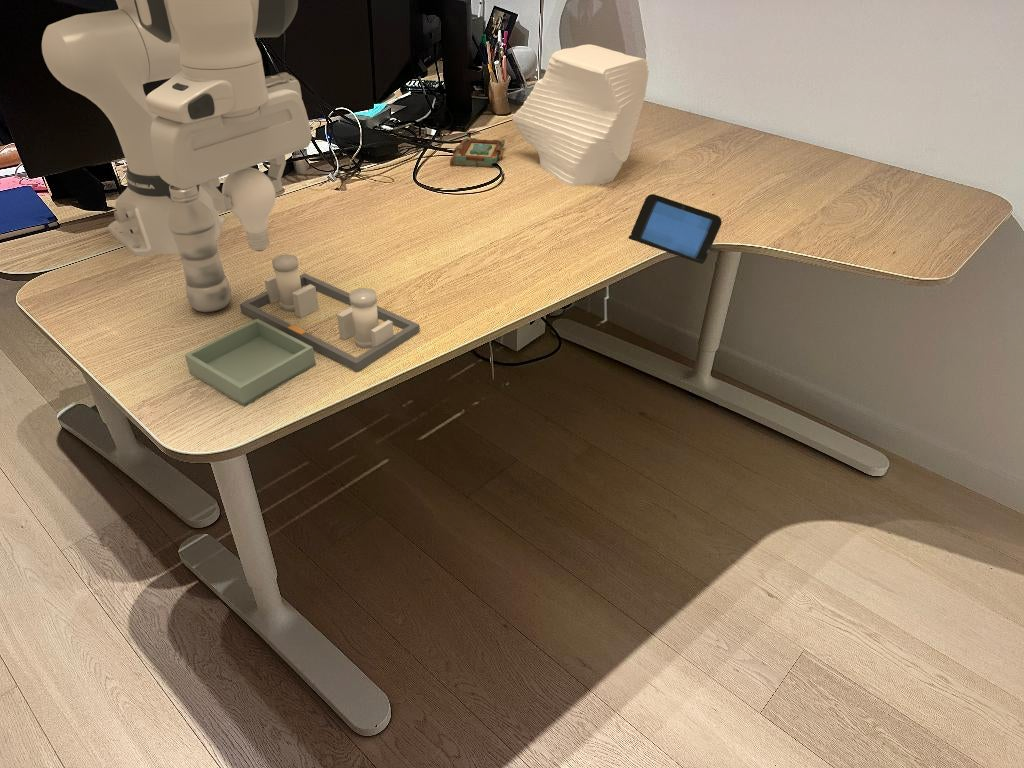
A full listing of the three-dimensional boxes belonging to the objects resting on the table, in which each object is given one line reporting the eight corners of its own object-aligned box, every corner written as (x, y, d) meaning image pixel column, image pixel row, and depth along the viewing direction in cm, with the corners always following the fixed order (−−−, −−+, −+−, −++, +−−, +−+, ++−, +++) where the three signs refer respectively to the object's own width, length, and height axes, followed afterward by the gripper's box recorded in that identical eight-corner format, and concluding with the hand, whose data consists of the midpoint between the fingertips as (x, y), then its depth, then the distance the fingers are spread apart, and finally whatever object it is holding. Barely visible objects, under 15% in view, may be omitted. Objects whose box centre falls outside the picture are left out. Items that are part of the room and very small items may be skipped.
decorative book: (444, 181, 164) (443, 158, 161) (460, 153, 178) (459, 132, 175) (504, 185, 163) (504, 162, 160) (515, 157, 177) (515, 136, 174)
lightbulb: (289, 239, 101) (275, 159, 95) (280, 260, 96) (264, 178, 90) (241, 239, 101) (224, 160, 95) (230, 261, 96) (210, 178, 90)
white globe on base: (275, 305, 119) (266, 261, 115) (294, 296, 122) (286, 252, 117) (291, 313, 118) (283, 268, 113) (310, 303, 120) (302, 259, 115)
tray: (189, 372, 104) (184, 355, 103) (261, 335, 112) (257, 318, 111) (244, 406, 99) (240, 388, 97) (315, 364, 107) (312, 347, 105)
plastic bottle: (181, 309, 118) (147, 187, 106) (216, 292, 123) (187, 173, 111) (208, 321, 115) (176, 198, 103) (243, 303, 120) (216, 183, 108)
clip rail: (241, 312, 118) (236, 289, 115) (305, 281, 126) (302, 259, 124) (357, 372, 105) (354, 348, 103) (419, 333, 114) (418, 310, 111)
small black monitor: (600, 261, 135) (605, 213, 129) (641, 238, 143) (648, 191, 137) (676, 291, 126) (684, 240, 121) (715, 264, 135) (724, 216, 129)
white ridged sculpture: (578, 203, 155) (588, 73, 139) (508, 163, 173) (510, 43, 157) (655, 184, 164) (672, 60, 149) (581, 147, 182) (589, 33, 167)
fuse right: (349, 342, 111) (343, 295, 107) (368, 331, 114) (363, 285, 109) (367, 351, 110) (362, 304, 105) (386, 340, 112) (381, 293, 107)
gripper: (279, 65, 95) (296, 171, 103) (131, 101, 81) (164, 219, 90) (313, 73, 92) (328, 181, 100) (165, 111, 78) (196, 233, 87)
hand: (249, 200), depth 95 cm, fingers closed on lightbulb, 6 cm apart
